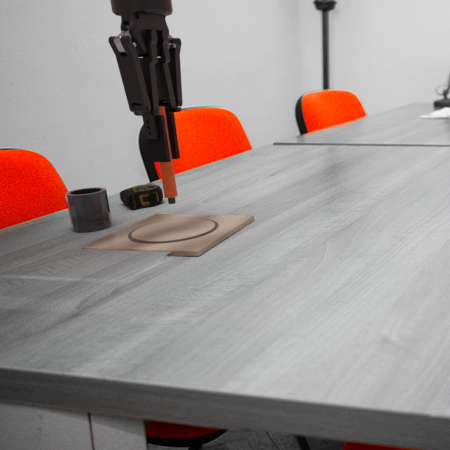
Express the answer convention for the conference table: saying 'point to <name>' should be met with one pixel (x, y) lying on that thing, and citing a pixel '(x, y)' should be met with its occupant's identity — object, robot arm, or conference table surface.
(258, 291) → the conference table surface
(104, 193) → the pen pot
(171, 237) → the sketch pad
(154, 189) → the tape measure
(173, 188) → the marker pen
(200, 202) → the conference table surface
